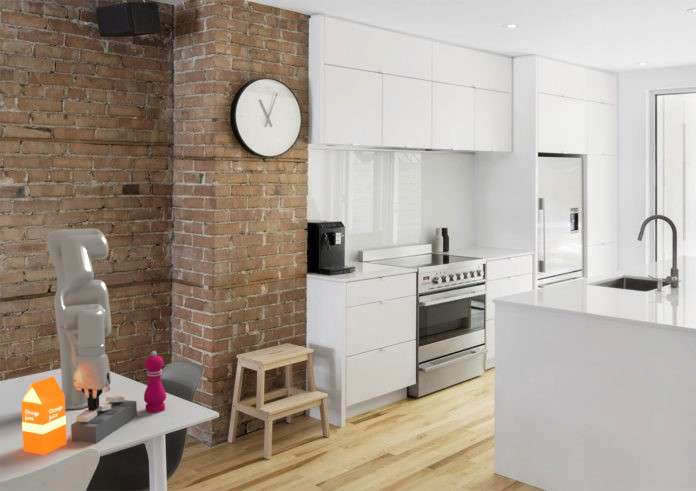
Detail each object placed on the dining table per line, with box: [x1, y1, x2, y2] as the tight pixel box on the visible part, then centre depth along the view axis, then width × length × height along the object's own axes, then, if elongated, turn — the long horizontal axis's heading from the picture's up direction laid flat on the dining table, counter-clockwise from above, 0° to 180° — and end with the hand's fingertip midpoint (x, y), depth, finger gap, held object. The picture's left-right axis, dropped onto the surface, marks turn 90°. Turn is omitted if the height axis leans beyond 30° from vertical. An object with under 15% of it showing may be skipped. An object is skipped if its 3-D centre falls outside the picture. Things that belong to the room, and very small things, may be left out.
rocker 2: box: [94, 403, 111, 411], centre depth 219 cm, size 4×5×2 cm
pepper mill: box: [143, 350, 167, 414], centre depth 235 cm, size 7×7×20 cm
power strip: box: [70, 399, 138, 444], centre depth 222 cm, size 8×30×6 cm, turn 168°
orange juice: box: [20, 375, 67, 456], centre depth 203 cm, size 8×9×20 cm
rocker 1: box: [75, 409, 97, 422], centre depth 211 cm, size 4×5×2 cm
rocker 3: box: [105, 395, 125, 403], centre depth 227 cm, size 4×5×2 cm
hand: (93, 409), depth 214 cm, fingers closed
